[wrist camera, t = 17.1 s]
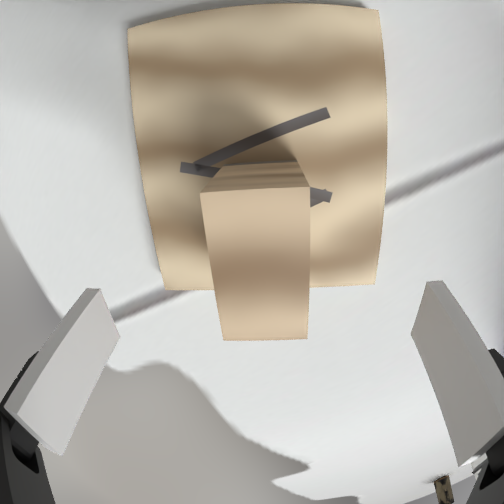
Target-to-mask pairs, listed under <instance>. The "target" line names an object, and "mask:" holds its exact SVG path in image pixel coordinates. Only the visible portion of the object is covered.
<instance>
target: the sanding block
mask: <svg viewBox="0 0 504 504" xmlns="http://www.w3.org/2000/svg"><path fill="white" fill-rule="evenodd" d="M200 199H201V207H202V214H203V221H204V228H205V234H206V241H207V247H208V254H209V260H210V266H211V273H212V279H213V285H214V290H215V296H216V302H217V308H218V313H219V319H220V324H221V330H222V335H223V340H227V341H251V340H293V339H307V334H308V312H309V284H310V186H309V184H308V182H307V180H306V178H305V176H304V173H303V171H302V169H301V167H300V165H299V163H298V161H297V160H285V161H264V162H247V163H233V164H224V165H223V167H222V168H221V169H220V170H219V171H218V172H217V173H216V174H215V176H214V177H213V178H212V179H211V180H210V181H209V183H208V184H207V185H206V186H205V187H204V188H203V190H202V191H201V192H200Z"/></svg>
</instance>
